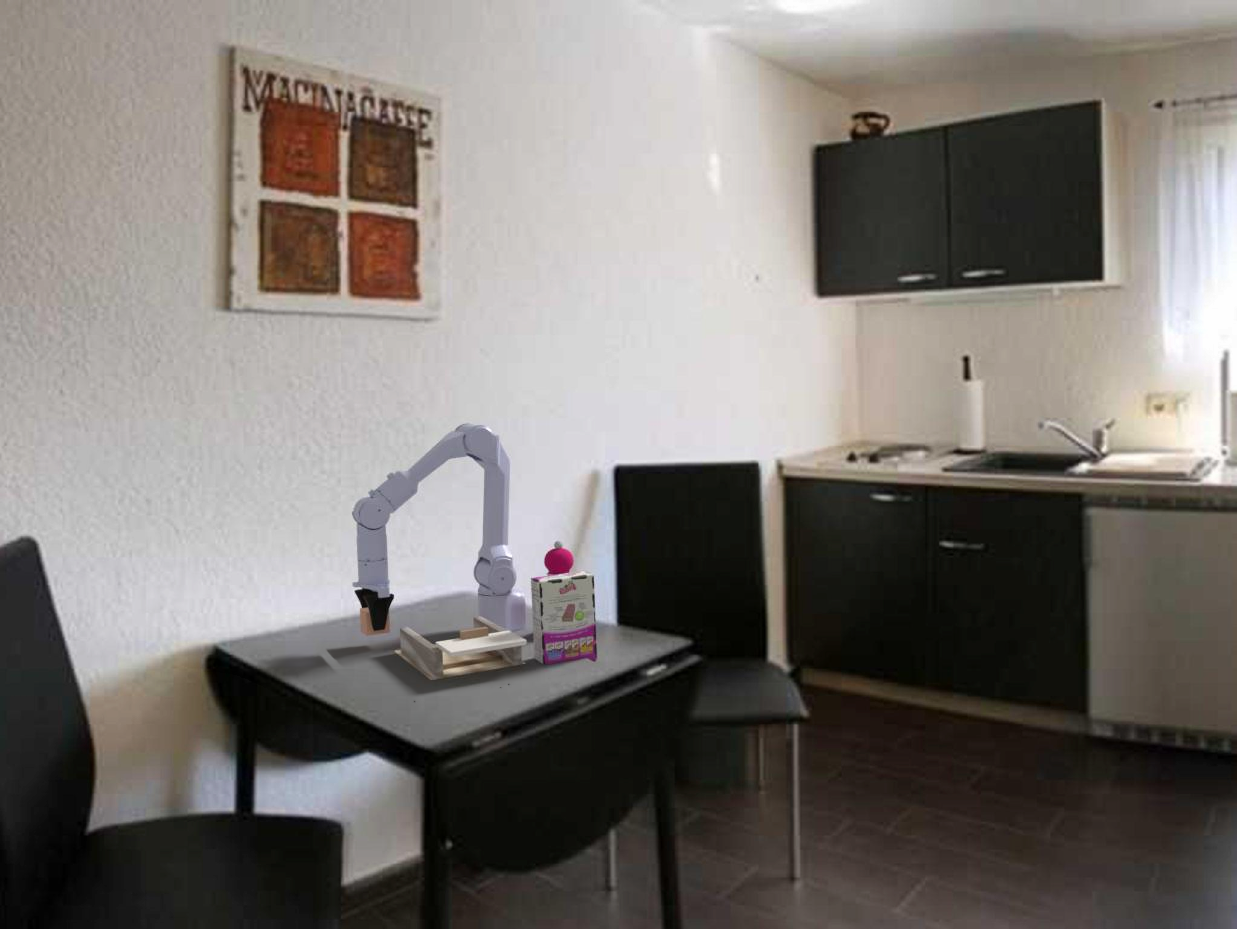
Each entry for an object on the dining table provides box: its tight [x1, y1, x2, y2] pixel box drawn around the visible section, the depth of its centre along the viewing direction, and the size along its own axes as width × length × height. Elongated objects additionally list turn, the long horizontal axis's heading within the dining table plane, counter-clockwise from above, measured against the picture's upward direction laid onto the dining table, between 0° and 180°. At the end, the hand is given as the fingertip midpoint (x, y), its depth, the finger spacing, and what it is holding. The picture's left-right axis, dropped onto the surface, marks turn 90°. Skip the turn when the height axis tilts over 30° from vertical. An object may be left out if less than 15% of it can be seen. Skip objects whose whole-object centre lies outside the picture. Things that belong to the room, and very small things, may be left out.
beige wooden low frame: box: [394, 615, 526, 681], centre depth 185 cm, size 18×22×6 cm
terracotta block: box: [359, 607, 391, 637], centre depth 193 cm, size 4×4×4 cm
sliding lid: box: [435, 627, 528, 657], centre depth 174 cm, size 14×8×2 cm, turn 119°
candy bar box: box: [530, 570, 598, 665], centre depth 183 cm, size 11×5×16 cm, turn 117°
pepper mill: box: [543, 540, 575, 576], centre depth 200 cm, size 7×7×20 cm
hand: (375, 627), depth 193 cm, fingers closed on terracotta block, 4 cm apart
